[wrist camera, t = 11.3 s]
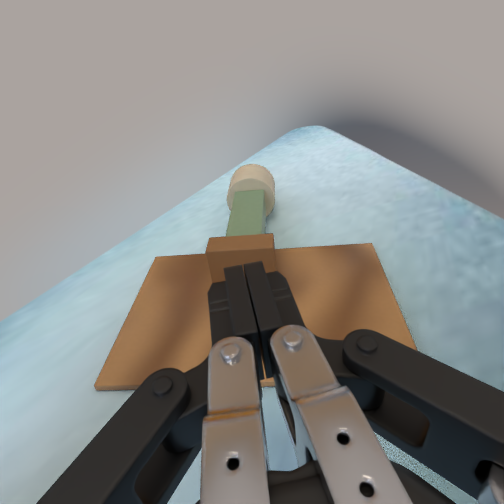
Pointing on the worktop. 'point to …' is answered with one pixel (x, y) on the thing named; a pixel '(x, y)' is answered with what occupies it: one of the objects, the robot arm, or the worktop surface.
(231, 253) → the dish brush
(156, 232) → the worktop surface
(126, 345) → the brown flat board
